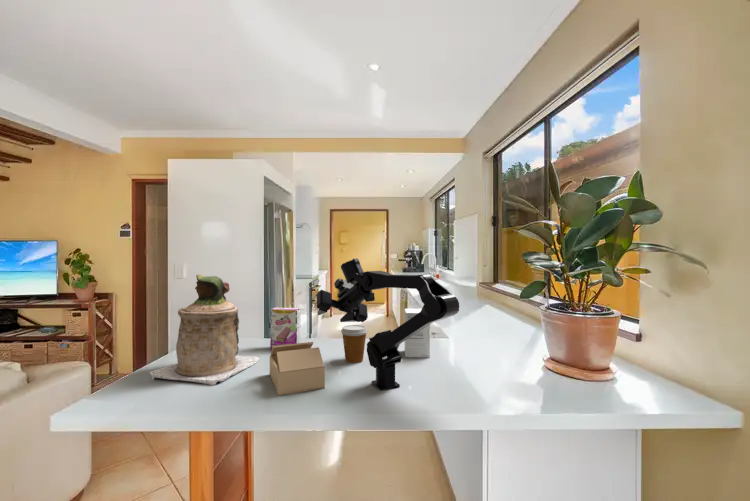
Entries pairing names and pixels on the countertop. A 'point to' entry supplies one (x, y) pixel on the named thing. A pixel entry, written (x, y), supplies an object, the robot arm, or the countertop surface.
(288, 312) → the candy bar box
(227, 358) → the cookie jar
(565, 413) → the countertop surface
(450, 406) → the countertop surface
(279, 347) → the far flap
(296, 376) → the carton
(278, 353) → the near flap
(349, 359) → the disposable coffee cup
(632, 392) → the countertop surface
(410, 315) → the supplement box
